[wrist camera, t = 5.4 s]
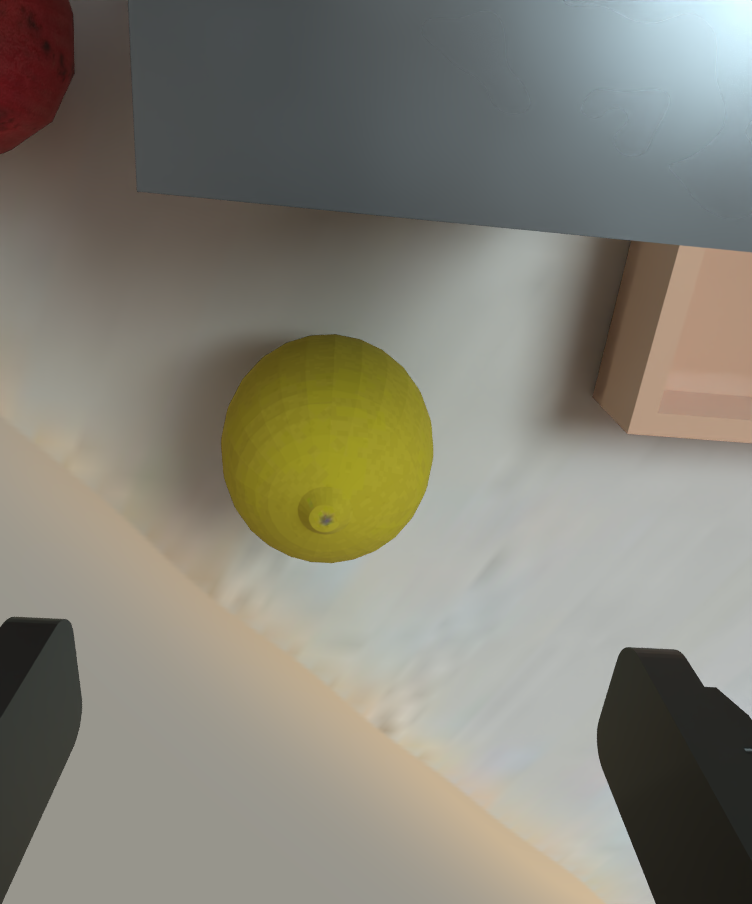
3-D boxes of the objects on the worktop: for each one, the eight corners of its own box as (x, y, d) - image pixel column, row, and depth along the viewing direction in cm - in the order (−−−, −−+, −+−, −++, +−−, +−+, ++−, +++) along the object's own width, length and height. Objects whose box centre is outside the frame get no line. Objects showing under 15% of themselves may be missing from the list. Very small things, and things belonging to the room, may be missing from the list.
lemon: (328, 498, 23) (321, 662, 16) (207, 386, 21) (137, 515, 14) (452, 395, 22) (506, 524, 15) (335, 266, 20) (329, 341, 13)
